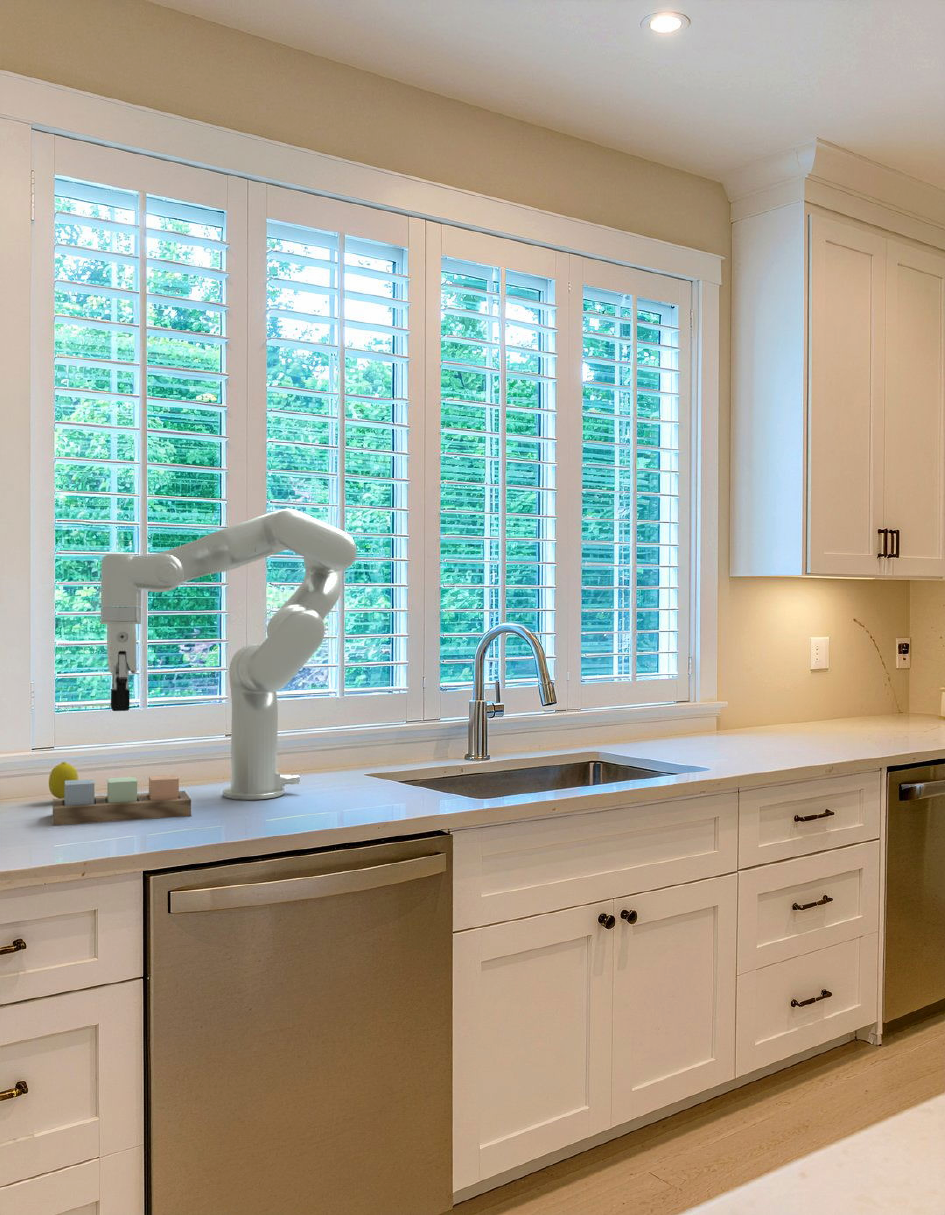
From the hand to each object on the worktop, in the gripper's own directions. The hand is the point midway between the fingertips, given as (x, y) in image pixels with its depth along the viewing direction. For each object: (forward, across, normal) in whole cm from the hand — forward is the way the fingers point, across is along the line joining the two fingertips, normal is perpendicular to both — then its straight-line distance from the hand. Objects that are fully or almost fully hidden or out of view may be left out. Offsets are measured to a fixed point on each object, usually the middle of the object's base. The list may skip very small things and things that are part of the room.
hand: (120, 709), depth 194 cm
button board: (+19, -9, 0) cm, 21 cm away
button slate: (+17, -9, +8) cm, 21 cm away
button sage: (+18, -9, 0) cm, 20 cm away
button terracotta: (+18, -9, -8) cm, 21 cm away
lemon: (+19, +9, +10) cm, 24 cm away
